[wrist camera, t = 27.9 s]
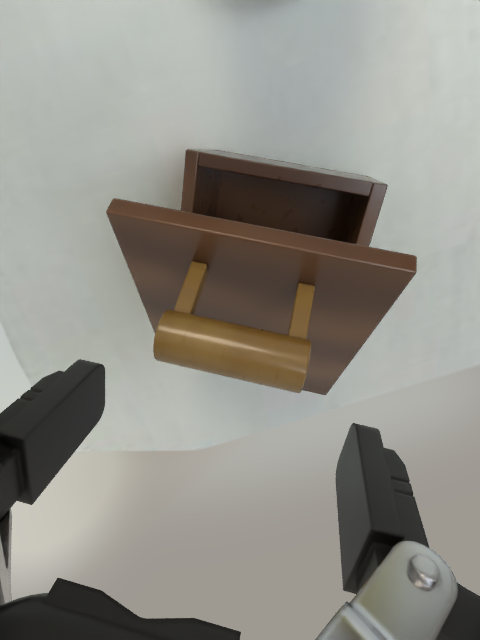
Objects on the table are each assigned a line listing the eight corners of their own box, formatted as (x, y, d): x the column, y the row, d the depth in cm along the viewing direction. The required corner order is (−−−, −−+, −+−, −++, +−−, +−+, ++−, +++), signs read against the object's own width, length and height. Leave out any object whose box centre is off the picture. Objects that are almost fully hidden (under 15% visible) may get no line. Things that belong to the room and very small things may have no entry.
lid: (113, 196, 15) (50, 310, 12) (417, 255, 14) (416, 391, 11) (168, 348, 27) (143, 418, 25) (327, 384, 26) (317, 461, 24)
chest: (216, 149, 29) (185, 149, 22) (368, 176, 28) (388, 184, 21) (197, 310, 35) (168, 350, 28) (323, 337, 34) (326, 386, 26)
